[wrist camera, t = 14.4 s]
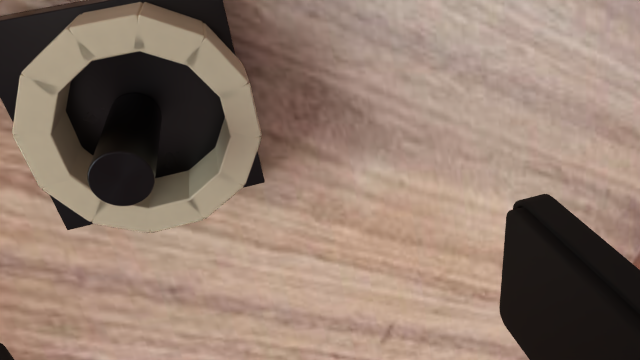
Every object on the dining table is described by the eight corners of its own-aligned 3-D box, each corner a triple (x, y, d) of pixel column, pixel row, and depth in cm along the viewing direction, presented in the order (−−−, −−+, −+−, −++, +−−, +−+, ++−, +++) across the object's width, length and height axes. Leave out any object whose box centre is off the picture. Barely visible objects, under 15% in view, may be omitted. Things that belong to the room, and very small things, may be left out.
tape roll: (225, -15, 19) (230, -5, 17) (268, 174, 23) (277, 202, 21) (-8, 29, 18) (-35, 47, 15) (83, 219, 22) (72, 253, 20)
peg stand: (216, -24, 20) (229, 6, 14) (261, 171, 24) (284, 253, 18) (-24, 20, 18) (-118, 73, 13) (72, 216, 23) (35, 319, 17)
